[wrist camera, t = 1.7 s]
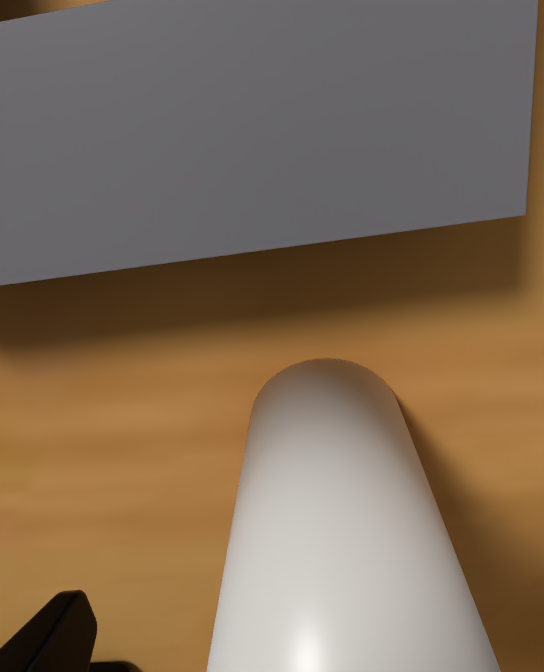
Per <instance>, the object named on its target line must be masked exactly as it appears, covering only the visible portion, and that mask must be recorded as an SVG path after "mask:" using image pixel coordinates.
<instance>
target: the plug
mask: <svg viewBox="0 0 544 672" xmlns="http://www.w3.org/2000/svg"><path fill="white" fill-rule="evenodd" d="M207 672H501V670H500V667H499V665H498V662H497V660H496V657H495V654H494V652H493V649H492V647H491V644H490V641H489V639H488V636H487V634H486V631H485V628H484V626H483V623H482V621H481V618H480V615H479V613H478V610H477V608H476V605H475V602H474V600H473V597H472V595H471V592H470V589H469V587H468V584H467V582H466V579H465V576H464V574H463V571H462V569H461V566H460V563H459V561H458V558H457V556H456V553H455V550H454V548H453V545H452V542H451V540H450V537H449V535H448V532H447V529H446V527H445V524H444V522H443V519H442V516H441V514H440V511H439V509H438V506H437V503H436V501H435V498H434V496H433V493H432V490H431V488H430V485H429V483H428V480H427V477H426V475H425V472H424V470H423V467H422V464H421V462H420V459H419V457H418V454H417V451H416V449H415V446H414V444H413V441H412V438H411V436H410V433H409V431H408V428H407V425H406V423H405V420H404V418H403V415H402V412H401V410H400V407H399V405H398V402H397V400H396V398H395V396H394V394H393V392H392V391H391V389H390V388H389V386H388V385H387V384H386V383H385V382H384V381H383V380H382V379H381V378H380V377H379V376H378V375H376V374H375V373H373V372H372V371H370V370H369V369H367V368H365V367H363V366H361V365H359V364H356V363H353V362H350V361H345V360H340V359H330V358H323V359H313V360H307V361H303V362H300V363H296V364H294V365H292V366H290V367H287V368H286V369H284V370H282V371H280V372H279V373H277V374H276V375H275V376H274V377H272V378H271V379H270V380H269V381H268V382H267V383H266V384H265V385H264V387H263V388H262V389H261V391H260V392H259V394H258V395H257V397H256V399H255V401H254V404H253V407H252V411H251V416H250V422H249V427H248V433H247V439H246V445H245V451H244V457H243V462H242V468H241V474H240V480H239V486H238V492H237V497H236V503H235V509H234V515H233V521H232V526H231V532H230V538H229V544H228V550H227V556H226V561H225V567H224V573H223V579H222V585H221V590H220V596H219V602H218V608H217V614H216V620H215V625H214V631H213V637H212V643H211V649H210V654H209V660H208V666H207Z"/></svg>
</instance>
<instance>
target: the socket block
mask: <svg viewBox="0 0 544 672" xmlns="http://www.w3.org/2000/svg"><path fill="white" fill-rule="evenodd" d="M537 16H538V0H110V1H105V2H100V3H95V4H90V5H85V6H79V7H74V8H69V9H64V10H59V11H53V12H48V13H43V14H38V15H33V16H28V17H22V18H17V19H12V20H7V21H2V22H0V285H7V284H15V283H22V282H30V281H37V280H45V279H52V278H59V277H67V276H74V275H82V274H89V273H97V272H104V271H112V270H119V269H127V268H134V267H142V266H149V265H156V264H164V263H171V262H179V261H186V260H194V259H201V258H209V257H216V256H224V255H231V254H239V253H246V252H254V251H261V250H268V249H276V248H283V247H291V246H298V245H306V244H313V243H321V242H328V241H336V240H343V239H351V238H358V237H365V236H373V235H380V234H388V233H395V232H403V231H410V230H418V229H425V228H433V227H440V226H448V225H455V224H462V223H470V222H477V221H485V220H492V219H500V218H507V217H515V216H522V215H526V201H527V184H528V167H529V150H530V133H531V117H532V100H533V83H534V66H535V49H536V32H537Z"/></svg>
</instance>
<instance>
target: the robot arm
mask: <svg viewBox="0 0 544 672" xmlns="http://www.w3.org/2000/svg"><path fill="white" fill-rule="evenodd" d="M96 635H97V621H96V618H95V616H94V613H93V611H92V608H91V606H90V603H89V601H88V598H87V596H86V594H85V593H84V592H83V591H82V590H73V591H63V592H60V593H58V594H57V595H56V596H54V597H53V598H52V599H51V600H50V601H49V602H48V603H47V604H46V605H45V606H44V607H43V608H42V609H41V610H40V611H39V612H38V613H37V614H36V615H35V616H34V617H33V618H32V619H30V620H29V621H28V622H27V623H26V624H25V625H24V626H23V627H22V628H21V629H20V630H19V631H18V632H17V633H16V634H15V635H14V636H13V637H12V638H11V639H10V640H9V641H8V642H7V643H6V644H4V645H3V646H2V647H1V648H0V672H131V671H130V669H129V668H127V667H126V666H124V665H121V664H98V665H90V660H91V656H92V652H93V648H94V644H95V639H96Z"/></svg>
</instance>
